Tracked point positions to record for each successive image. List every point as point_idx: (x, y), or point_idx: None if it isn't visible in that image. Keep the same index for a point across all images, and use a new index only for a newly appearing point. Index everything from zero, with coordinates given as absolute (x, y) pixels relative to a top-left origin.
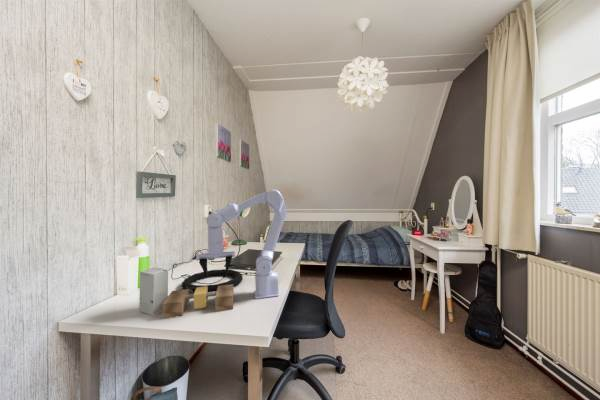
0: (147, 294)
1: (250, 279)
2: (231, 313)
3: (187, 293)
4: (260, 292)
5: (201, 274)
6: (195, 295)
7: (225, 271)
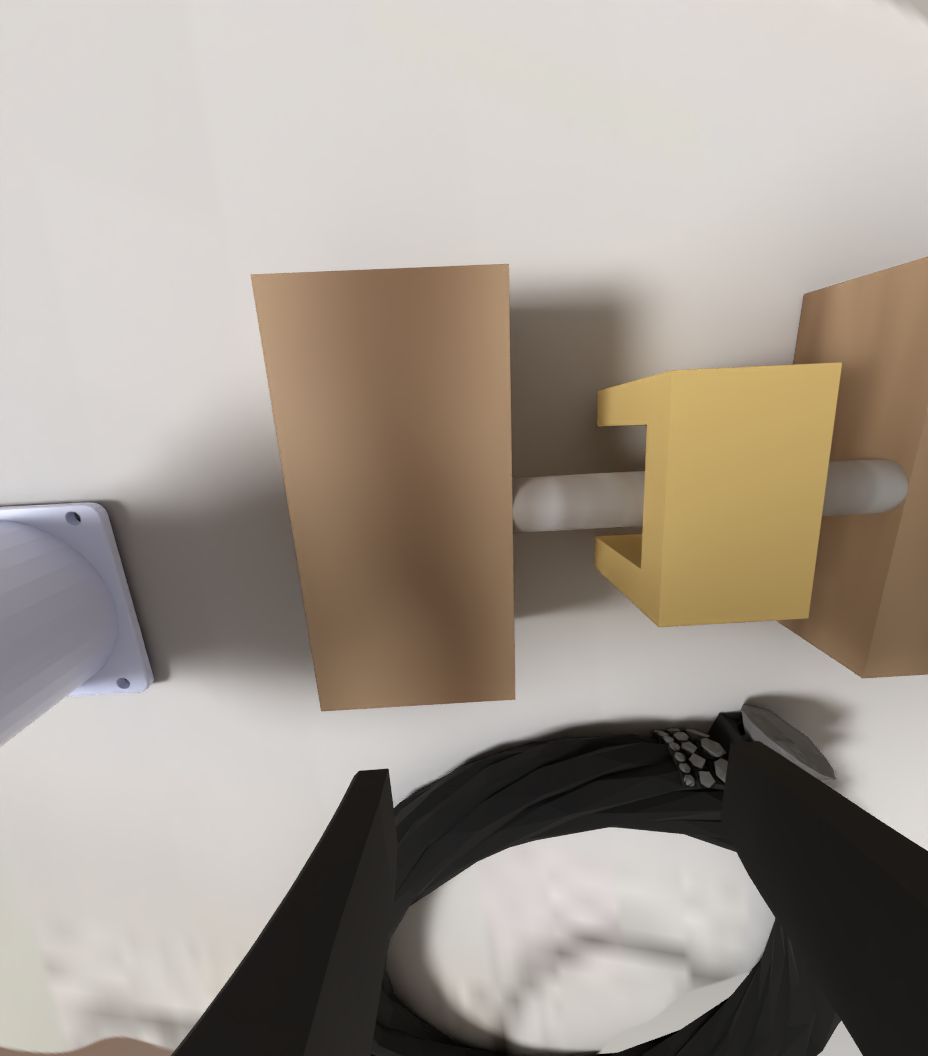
0: None
1: None
2: (313, 203)
3: (859, 592)
4: (4, 543)
5: None
6: (803, 364)
7: None
